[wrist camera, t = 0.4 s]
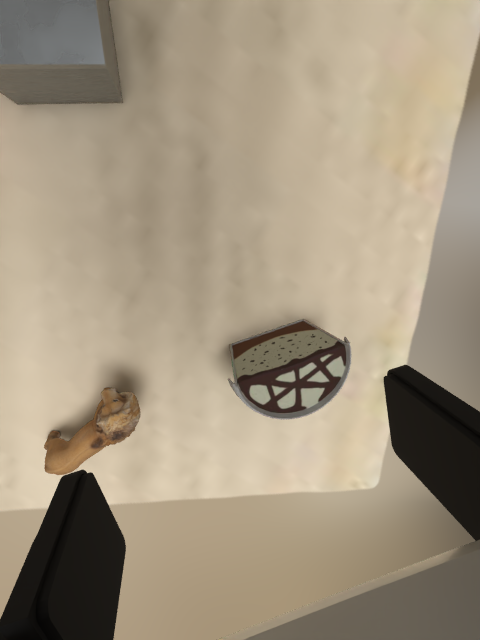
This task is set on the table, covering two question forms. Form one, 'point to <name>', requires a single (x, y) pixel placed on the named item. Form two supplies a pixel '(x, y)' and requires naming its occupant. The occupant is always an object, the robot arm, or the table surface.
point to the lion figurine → (94, 432)
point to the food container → (289, 370)
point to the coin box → (58, 52)
